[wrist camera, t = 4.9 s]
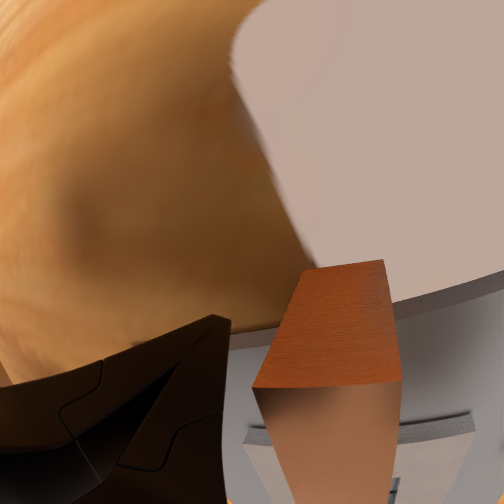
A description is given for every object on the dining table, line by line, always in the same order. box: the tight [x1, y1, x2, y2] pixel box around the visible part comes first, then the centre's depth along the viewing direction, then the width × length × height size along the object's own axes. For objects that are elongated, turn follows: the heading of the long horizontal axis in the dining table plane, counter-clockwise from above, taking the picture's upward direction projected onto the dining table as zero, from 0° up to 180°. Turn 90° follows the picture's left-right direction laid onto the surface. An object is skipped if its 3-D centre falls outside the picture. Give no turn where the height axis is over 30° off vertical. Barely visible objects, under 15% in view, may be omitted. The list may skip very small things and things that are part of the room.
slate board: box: [134, 270, 504, 504], centre depth 11 cm, size 20×20×4 cm
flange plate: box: [242, 259, 476, 504], centre depth 9 cm, size 18×10×5 cm, turn 16°
